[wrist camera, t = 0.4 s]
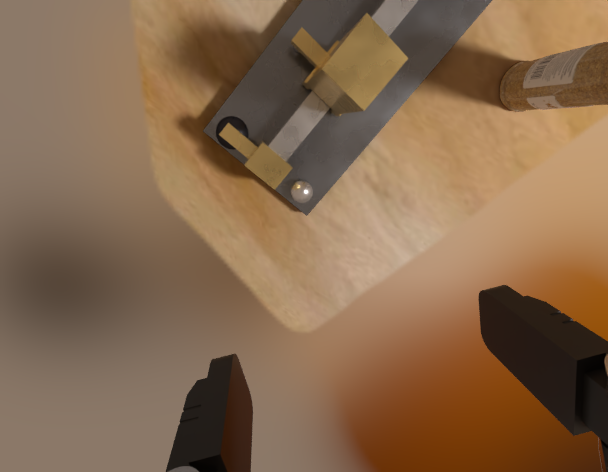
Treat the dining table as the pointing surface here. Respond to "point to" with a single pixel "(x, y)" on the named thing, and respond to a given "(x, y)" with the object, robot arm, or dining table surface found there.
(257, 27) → the dining table surface
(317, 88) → the block
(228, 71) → the dining table surface
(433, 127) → the dining table surface
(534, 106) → the sprinkles bottle
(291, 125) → the beam
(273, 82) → the metal base plate
